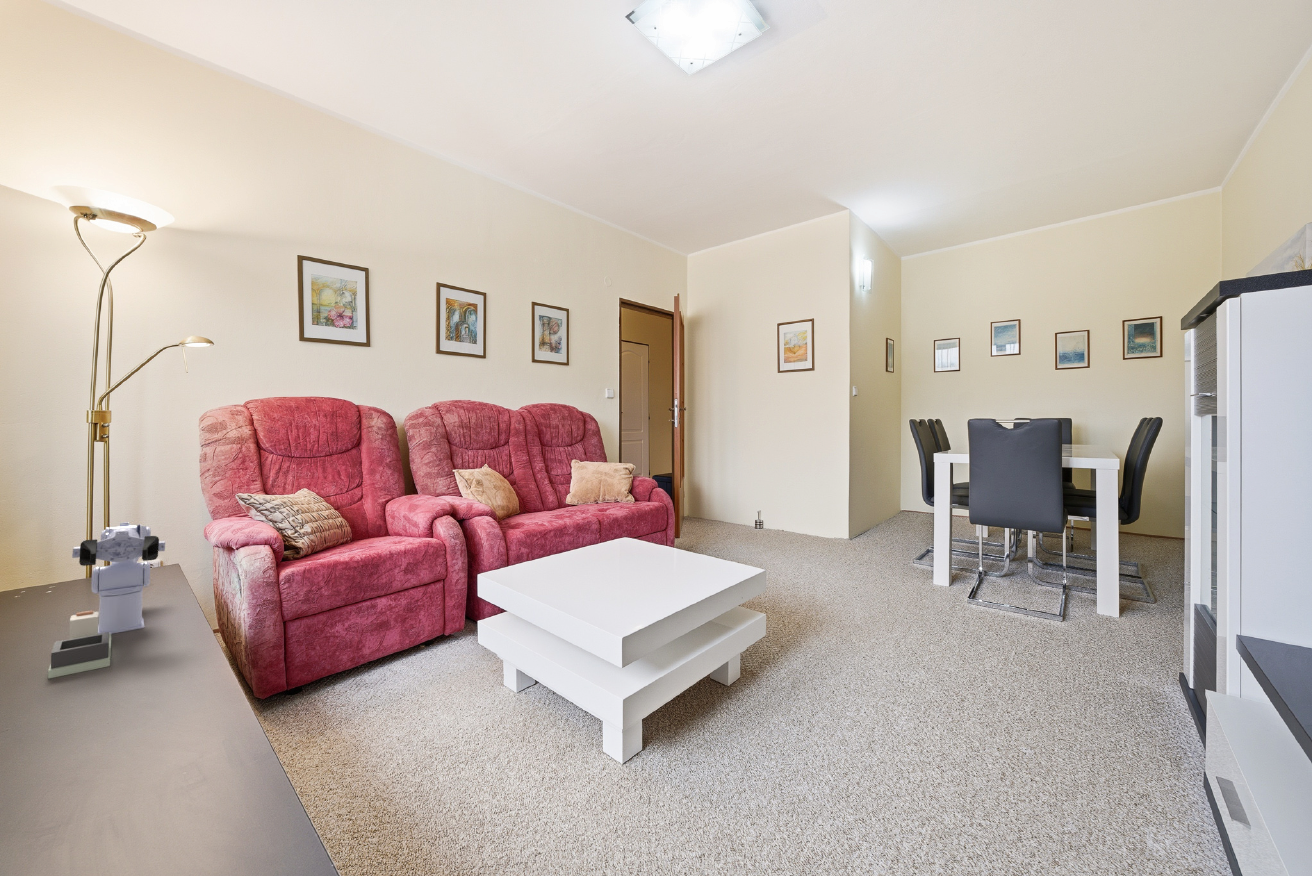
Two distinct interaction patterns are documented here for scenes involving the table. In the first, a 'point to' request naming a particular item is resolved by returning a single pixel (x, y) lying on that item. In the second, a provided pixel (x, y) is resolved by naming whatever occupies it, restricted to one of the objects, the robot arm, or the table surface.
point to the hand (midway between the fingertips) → (119, 556)
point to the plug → (83, 624)
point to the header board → (80, 654)
